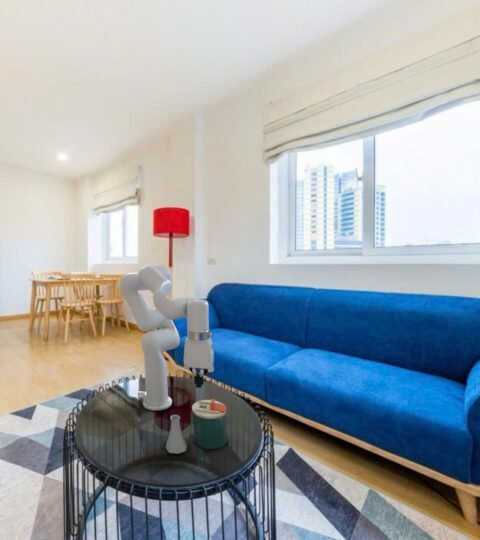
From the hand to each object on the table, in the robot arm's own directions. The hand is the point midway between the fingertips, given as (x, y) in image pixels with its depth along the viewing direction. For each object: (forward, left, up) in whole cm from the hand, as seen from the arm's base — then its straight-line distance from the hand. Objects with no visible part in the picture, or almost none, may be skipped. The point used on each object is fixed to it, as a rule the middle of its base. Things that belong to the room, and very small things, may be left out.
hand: (199, 386), depth 102 cm
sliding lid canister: (+4, -3, -17) cm, 17 cm away
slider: (+7, -3, -6) cm, 9 cm away
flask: (-6, -10, -17) cm, 21 cm away
